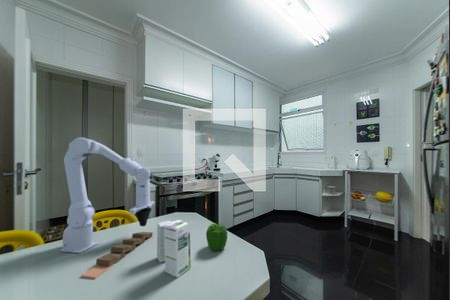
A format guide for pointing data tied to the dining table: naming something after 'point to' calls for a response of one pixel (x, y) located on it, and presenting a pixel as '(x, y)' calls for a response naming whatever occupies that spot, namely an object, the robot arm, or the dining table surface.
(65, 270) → the dining table surface
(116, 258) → the domino
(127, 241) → the domino
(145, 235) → the domino
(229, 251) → the dining table surface
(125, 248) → the domino
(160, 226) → the skincare box
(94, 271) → the domino
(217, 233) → the bell pepper
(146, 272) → the dining table surface
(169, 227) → the syrup box
